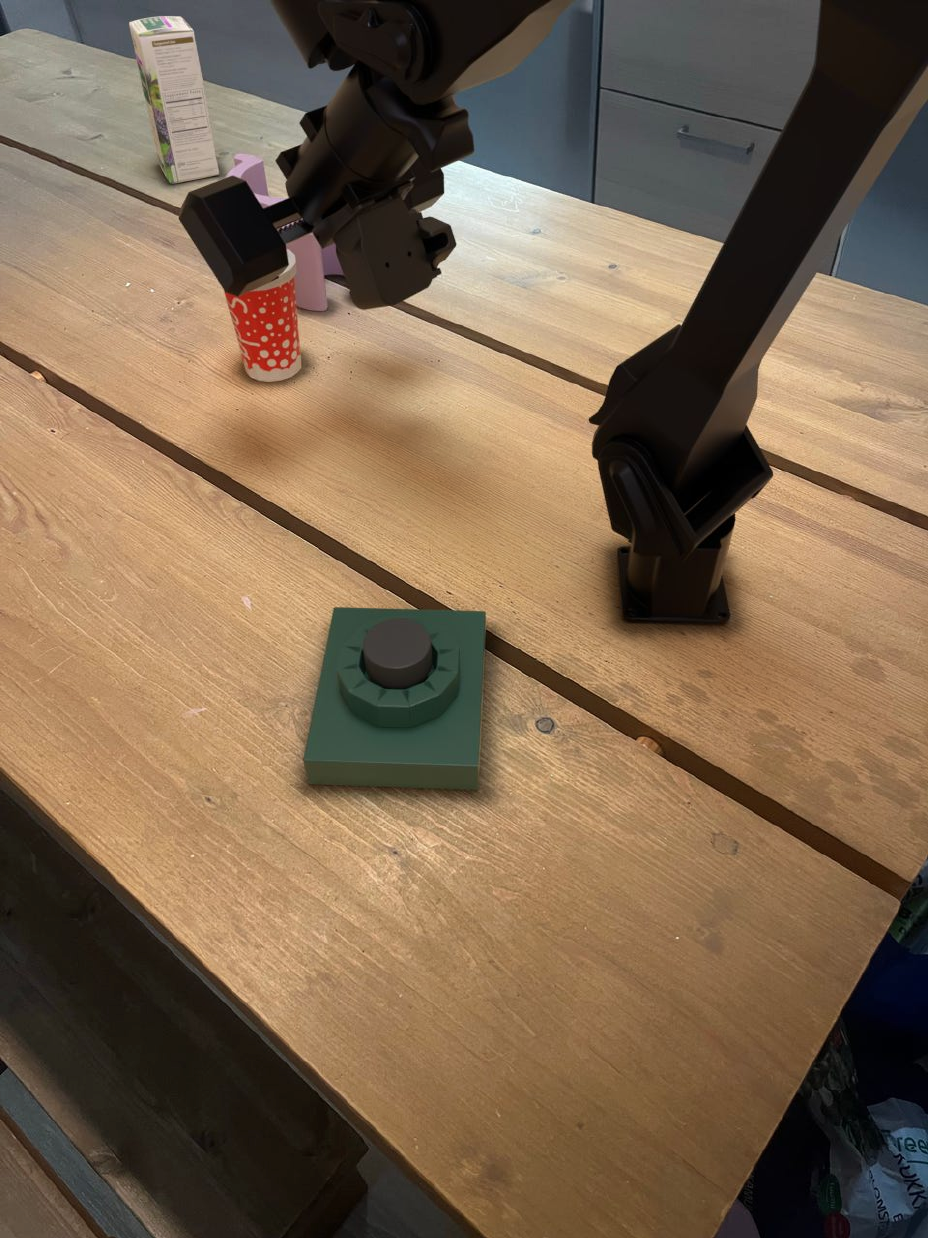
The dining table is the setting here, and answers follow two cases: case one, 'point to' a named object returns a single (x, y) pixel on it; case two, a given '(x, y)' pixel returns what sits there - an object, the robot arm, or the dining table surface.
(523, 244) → the dining table surface
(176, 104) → the syrup box
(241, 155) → the clip
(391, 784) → the green button box
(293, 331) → the beverage cup
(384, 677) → the push button
